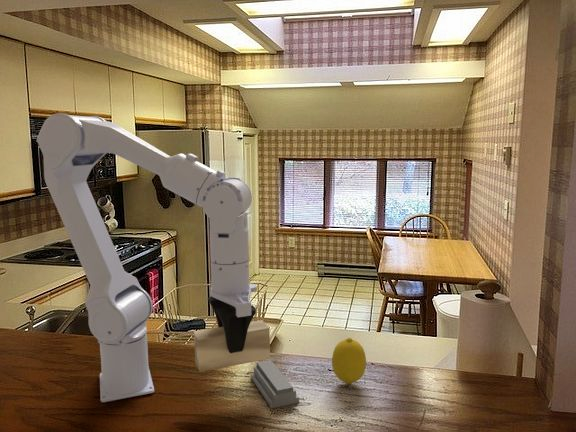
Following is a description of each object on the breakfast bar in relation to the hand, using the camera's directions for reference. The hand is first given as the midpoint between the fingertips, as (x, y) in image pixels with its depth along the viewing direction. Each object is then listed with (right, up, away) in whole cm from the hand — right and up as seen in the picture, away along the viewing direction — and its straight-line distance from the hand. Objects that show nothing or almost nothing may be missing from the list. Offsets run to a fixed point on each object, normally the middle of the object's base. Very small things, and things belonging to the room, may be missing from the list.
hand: (232, 345), depth 74 cm
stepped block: (+6, -8, +4) cm, 11 cm away
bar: (0, -2, 0) cm, 2 cm away
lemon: (+19, -8, +5) cm, 21 cm away
